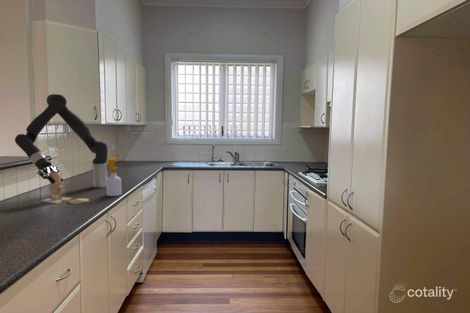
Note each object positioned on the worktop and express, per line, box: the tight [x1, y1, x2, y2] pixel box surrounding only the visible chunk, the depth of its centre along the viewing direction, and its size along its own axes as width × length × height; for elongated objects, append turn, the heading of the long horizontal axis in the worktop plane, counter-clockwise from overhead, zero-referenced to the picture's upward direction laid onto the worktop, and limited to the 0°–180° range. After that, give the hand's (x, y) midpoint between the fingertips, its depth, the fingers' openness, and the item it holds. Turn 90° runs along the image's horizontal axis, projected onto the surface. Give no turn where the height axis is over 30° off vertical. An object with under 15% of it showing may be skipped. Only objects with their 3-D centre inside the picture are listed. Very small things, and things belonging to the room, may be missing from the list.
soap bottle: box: [105, 156, 123, 197], centre depth 198 cm, size 9×9×25 cm
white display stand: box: [39, 187, 74, 205], centre depth 182 cm, size 12×12×8 cm
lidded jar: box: [49, 171, 63, 190], centre depth 181 cm, size 6×6×10 cm
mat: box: [68, 198, 90, 205], centre depth 181 cm, size 11×11×1 cm
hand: (58, 181), depth 181 cm, fingers closed on lidded jar, 5 cm apart
